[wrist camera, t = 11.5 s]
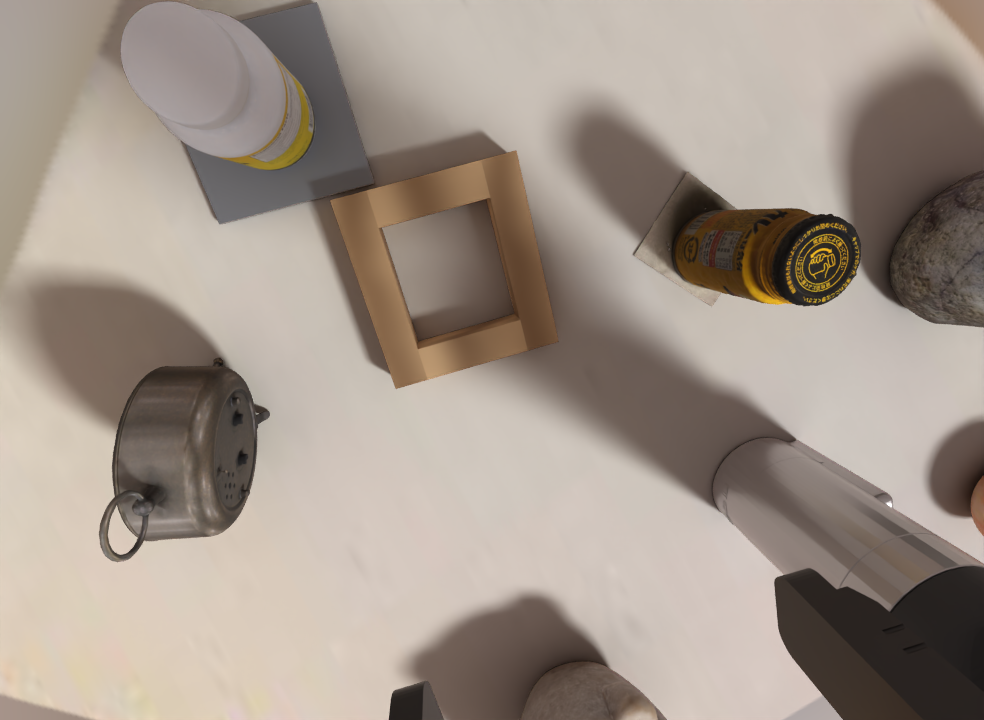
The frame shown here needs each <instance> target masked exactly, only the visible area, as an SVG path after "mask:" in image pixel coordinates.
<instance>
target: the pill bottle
mask: <svg viewBox="0 0 984 720" xmlns="http://www.w3.org/2000/svg"><path fill="white" fill-rule="evenodd" d="M121 61H122V65H123V69H124V72H125V74H126V77H127V79H128V81H129V83H130V85H131V87H132V88H133V90H134V91H135V93H136V94H137V96H138V97H139V98H140V99H141V100H142V101H143V102H144V103H145V104H146V105H147V106H148V107H149V108H150V109H151V110H153V111H154V112H155V113H156V115H157V116H158V118H159V119H160V121H161V122H162V123H163V124H164V125H165V126H166V128H167V129H168V130H169V131H170V132H171V133H173V134H174V135H175V136H176V137H177V138H178V139H180V140H181V141H183V142H184V143H186V144H187V145H189V146H190V147H192V148H194V149H196V150H199V151H201V152H203V153H206V154H209V155H212V156H216V157H219V158H222V159H226V160H229V161H233V162H236V163H239V164H243V165H246V166H250V167H253V168H257V169H261V170H281V169H285V168H288V167H290V166H292V165H294V164H296V163H297V162H299V161H300V160H301V159H302V158H303V157H304V156H305V155H306V154H307V152H308V151H309V149H310V147H311V145H312V143H313V140H314V136H315V130H316V121H315V113H314V109H313V105H312V103H311V100H310V98H309V96H308V94H307V92H306V91H305V89H304V87H303V86H302V85H301V84H300V82H299V81H298V80H297V79H296V78H295V77H294V76H293V75H292V74H291V73H290V72H289V71H288V70H287V69H286V67H285V66H284V65H283V64H282V63H281V62H280V61H279V60H278V59H277V57H276V56H275V55H274V54H273V53H272V52H271V51H270V50H269V49H268V47H267V46H266V45H265V44H264V43H263V42H262V41H261V40H260V39H259V37H258V36H257V35H256V34H255V33H253V32H252V31H251V30H250V29H249V28H247V27H246V26H245V25H243V24H242V23H240V22H239V21H237V20H235V19H234V18H232V17H230V16H227V15H225V14H222V13H219V12H216V11H211V10H205V9H196V8H194V7H192V6H189V5H187V4H183V3H179V2H173V1H165V2H157V3H152V4H149V5H147V6H144V7H143V8H141V9H140V10H139V11H137V12H136V13H135V14H134V15H133V16H132V17H131V18H130V20H129V21H128V23H127V25H126V26H125V28H124V32H123V35H122V40H121Z"/></svg>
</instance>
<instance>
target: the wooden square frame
mask: <svg viewBox="0 0 984 720" xmlns="http://www.w3.org/2000/svg"><path fill="white" fill-rule="evenodd" d="M485 199H486V200H487V204H488V209H489V213H490V217H491V221H492V225H493V229H494V233H495V237H496V241H497V245H498V249H499V253H500V257H501V261H502V265H503V269H504V273H505V277H506V281H507V285H508V289H509V293H510V297H511V301H512V305H513V309H514V313H515V314H513V315H509V316H506V317H502V318H499V319H495V320H492V321H488V322H485V323H481V324H478V325H474V326H471V327H467V328H464V329H460V330H457V331H453V332H450V333H446V334H443V335H439V336H436V337H432V338H429V339H425V340H422V341H418V339H417V336H416V333H415V329H414V326H413V323H412V320H411V317H410V314H409V311H408V308H407V305H406V302H405V298H404V295H403V292H402V289H401V286H400V283H399V280H398V277H397V274H396V270H395V267H394V264H393V261H392V258H391V255H390V252H389V249H388V246H387V242H386V239H385V236H384V233H383V230H382V227H386V226H389V225H393V224H397V223H400V222H404V221H408V220H411V219H415V218H419V217H422V216H426V215H430V214H434V213H437V212H441V211H445V210H448V209H452V208H456V207H459V206H463V205H467V204H470V203H474V202H478V201H481V200H485ZM330 202H331V205H332V208H333V211H334V214H335V217H336V219H337V222H338V225H339V228H340V231H341V234H342V237H343V239H344V242H345V245H346V248H347V251H348V254H349V257H350V259H351V262H352V265H353V268H354V271H355V274H356V277H357V279H358V282H359V285H360V288H361V291H362V294H363V297H364V299H365V302H366V305H367V308H368V311H369V314H370V317H371V319H372V322H373V325H374V328H375V331H376V334H377V337H378V340H379V342H380V345H381V348H382V351H383V354H384V357H385V360H386V362H387V365H388V368H389V371H390V374H391V377H392V380H393V382H394V385H395V388H396V389H397V388H401V387H404V386H408V385H411V384H414V383H418V382H421V381H425V380H428V379H432V378H435V377H439V376H442V375H445V374H449V373H452V372H456V371H459V370H463V369H466V368H470V367H473V366H476V365H480V364H483V363H487V362H490V361H494V360H497V359H501V358H504V357H507V356H511V355H514V354H518V353H521V352H525V351H528V350H532V349H535V348H538V347H542V346H545V345H549V344H552V343H556V342H559V341H558V336H557V332H556V327H555V323H554V318H553V314H552V309H551V305H550V300H549V296H548V291H547V287H546V282H545V278H544V273H543V269H542V264H541V260H540V255H539V250H538V246H537V241H536V237H535V232H534V228H533V223H532V219H531V214H530V210H529V205H528V201H527V196H526V192H525V187H524V183H523V178H522V174H521V169H520V165H519V160H518V156H517V151H512V152H508V153H505V154H501V155H497V156H493V157H490V158H486V159H482V160H479V161H475V162H471V163H467V164H464V165H460V166H456V167H452V168H449V169H445V170H441V171H437V172H434V173H430V174H426V175H423V176H419V177H415V178H411V179H408V180H404V181H400V182H396V183H393V184H389V185H385V186H381V187H378V188H374V189H370V190H366V191H363V192H359V193H355V194H352V195H348V196H344V197H340V198H337V199H333V200H330Z"/></svg>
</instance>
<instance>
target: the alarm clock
mask: <svg viewBox="0 0 984 720" xmlns="http://www.w3.org/2000/svg"><path fill="white" fill-rule="evenodd" d="M223 363H224V361H223V360H222V359H221V358H216V359H215V360H214V365H213V366H194V367H170V366H165V367H160V368H158V369H155V370H153V371H152V372H150V373H149V374H147V375H146V376H145V377H144V378H143V379H142V380H141V381H140V382H139V384H138V385H137V386H136V388H135V389H134V390H133V392H132V394H131V396H130V397H129V399H128V401H127V403H126V406H125V408H124V411H123V414H122V416H121V419H120V422H119V426H118V430H117V434H116V440H115V446H114V452H113V462H112V474H113V475H112V478H113V486H114V494H115V497H114V498H113V500H112V501H111V502H110V503H109V505H108V507H107V508H106V510H105V512H104V515H103V517H102V520H101V523H100V531H99V537H100V545H101V548H102V550H103V553H104V554H105V556H106V557H107V558H109V559H110V560H112V561H116V562H122V561H126V560H128V559H130V558H131V557H132V556H133V555H134V554H135V553H136V552H137V551H138V549H139V548H140V546H141V545H142V543H143V541H157V540H165V539H181V538H196V537H209V536H214V535H218V534H220V533H222V532H223V531H225V530H226V529H227V528H229V527H230V526H231V525H232V524H233V523H234V521H235V520H236V519H237V518H238V516H239V515H240V513H241V511H242V509H243V507H244V505H245V503H246V500H247V498H248V496H249V494H250V489H251V485H252V481H253V476H254V471H255V464H256V454H257V428H258V424H260V423H261V422H262V421H264V420H266V419H267V418H268V417H269V416H270V413H269V411H265V412H263V413H260V414H258V415H256V414H255V407H254V403H253V399H252V396H251V393H250V391H249V388H248V386H247V384H246V383H245V381H244V380H243V378H242V377H241V376H240V375H239V374H237V373H236V372H235V371H233V370H231V369H229V368H226V367H220V366H222V365H223ZM116 505H117V507H118V510H119V513H120V515H121V517H122V519H123V522H124V523H125V525H126V526H127V528H128V529H129V530H130V531H131V532H132V533H133V534H134V535H135V536H136V537H138V539H137V542H136V543H135V545H134V547H133V548H132V549H131V550H130V551H129V552H128V553H126V554H123V555H119V554H117V553H115V552H114V551H113V550H112V548H111V546H110V544H109V540H108V529H109V522H110V518H111V515H112V513H113V512H114V509H115V507H116Z"/></svg>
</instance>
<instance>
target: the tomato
mask: <svg viewBox="0 0 984 720" xmlns="http://www.w3.org/2000/svg"><path fill="white" fill-rule="evenodd" d="M971 514H972V517H973V521H974V523H975V525H976V527H977V528H978V530H979V531H980V532H981V534H982V535H983V536H984V475H983V476H982V478H981V479H980V480H979V481H978V483H977V485H976V487H975V488H974V491H973V494H972V497H971Z"/></svg>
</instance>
